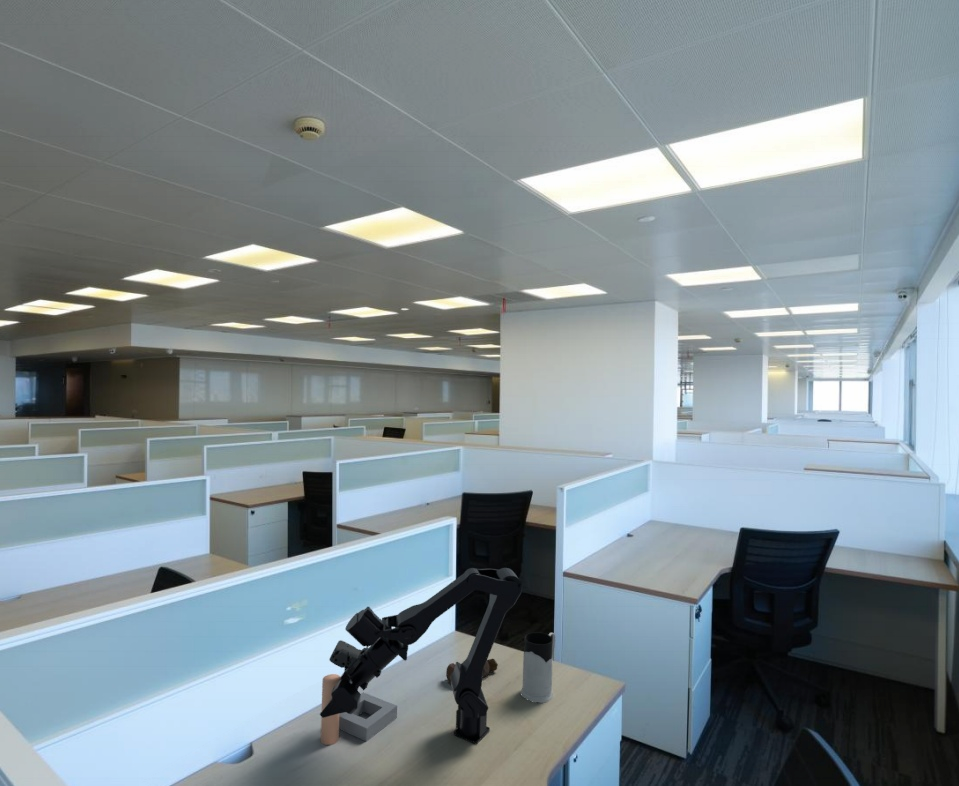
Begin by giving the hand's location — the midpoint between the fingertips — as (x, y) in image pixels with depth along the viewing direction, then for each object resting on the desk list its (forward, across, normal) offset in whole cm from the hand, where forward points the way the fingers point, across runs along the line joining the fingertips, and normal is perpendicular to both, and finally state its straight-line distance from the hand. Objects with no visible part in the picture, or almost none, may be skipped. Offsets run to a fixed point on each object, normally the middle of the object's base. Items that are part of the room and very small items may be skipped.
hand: (326, 704), depth 128 cm
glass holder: (-32, -24, +43) cm, 58 cm away
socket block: (0, -7, +11) cm, 13 cm away
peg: (+5, 0, +6) cm, 8 cm away
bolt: (-18, -29, +30) cm, 46 cm away
